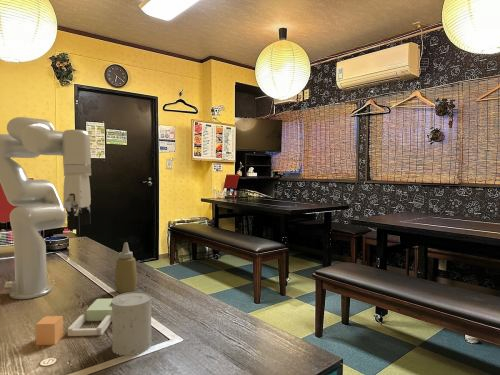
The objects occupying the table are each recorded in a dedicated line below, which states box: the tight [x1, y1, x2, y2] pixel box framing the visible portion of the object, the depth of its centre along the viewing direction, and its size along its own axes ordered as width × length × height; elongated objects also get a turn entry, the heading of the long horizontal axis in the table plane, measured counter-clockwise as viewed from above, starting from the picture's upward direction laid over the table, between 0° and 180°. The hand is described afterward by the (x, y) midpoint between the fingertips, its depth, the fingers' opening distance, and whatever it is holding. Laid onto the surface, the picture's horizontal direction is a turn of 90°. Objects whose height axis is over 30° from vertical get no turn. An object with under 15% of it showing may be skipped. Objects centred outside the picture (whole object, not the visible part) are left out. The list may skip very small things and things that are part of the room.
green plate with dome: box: [67, 298, 113, 337], centre depth 102 cm, size 15×18×4 cm
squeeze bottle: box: [114, 242, 139, 295], centre depth 126 cm, size 8×8×18 cm
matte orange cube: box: [35, 315, 64, 346], centre depth 90 cm, size 5×5×6 cm
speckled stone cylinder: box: [111, 291, 153, 356], centre depth 88 cm, size 10×10×12 cm
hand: (79, 227), depth 106 cm, fingers open, 9 cm apart
